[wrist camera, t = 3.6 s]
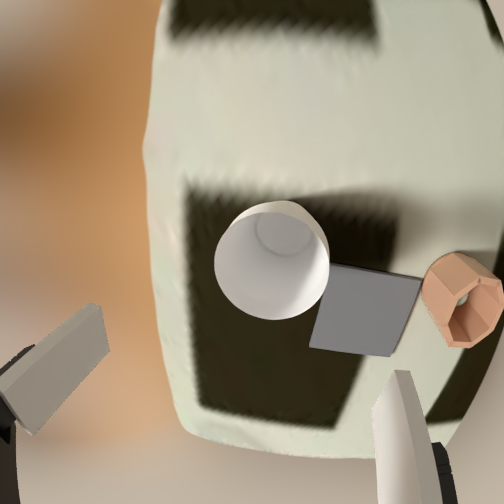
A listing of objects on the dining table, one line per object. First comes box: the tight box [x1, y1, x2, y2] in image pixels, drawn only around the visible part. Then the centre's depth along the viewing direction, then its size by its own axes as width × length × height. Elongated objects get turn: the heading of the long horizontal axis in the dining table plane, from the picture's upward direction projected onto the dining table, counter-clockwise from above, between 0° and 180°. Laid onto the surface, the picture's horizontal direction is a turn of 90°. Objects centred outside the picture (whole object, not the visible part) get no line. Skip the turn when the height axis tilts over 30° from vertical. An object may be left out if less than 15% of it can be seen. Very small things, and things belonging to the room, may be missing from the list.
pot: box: [421, 252, 504, 348], centre depth 26 cm, size 9×9×8 cm
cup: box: [214, 201, 329, 320], centre depth 26 cm, size 9×9×12 cm
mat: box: [309, 263, 421, 357], centre depth 33 cm, size 12×12×1 cm
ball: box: [456, 293, 468, 306], centre depth 27 cm, size 3×3×3 cm
